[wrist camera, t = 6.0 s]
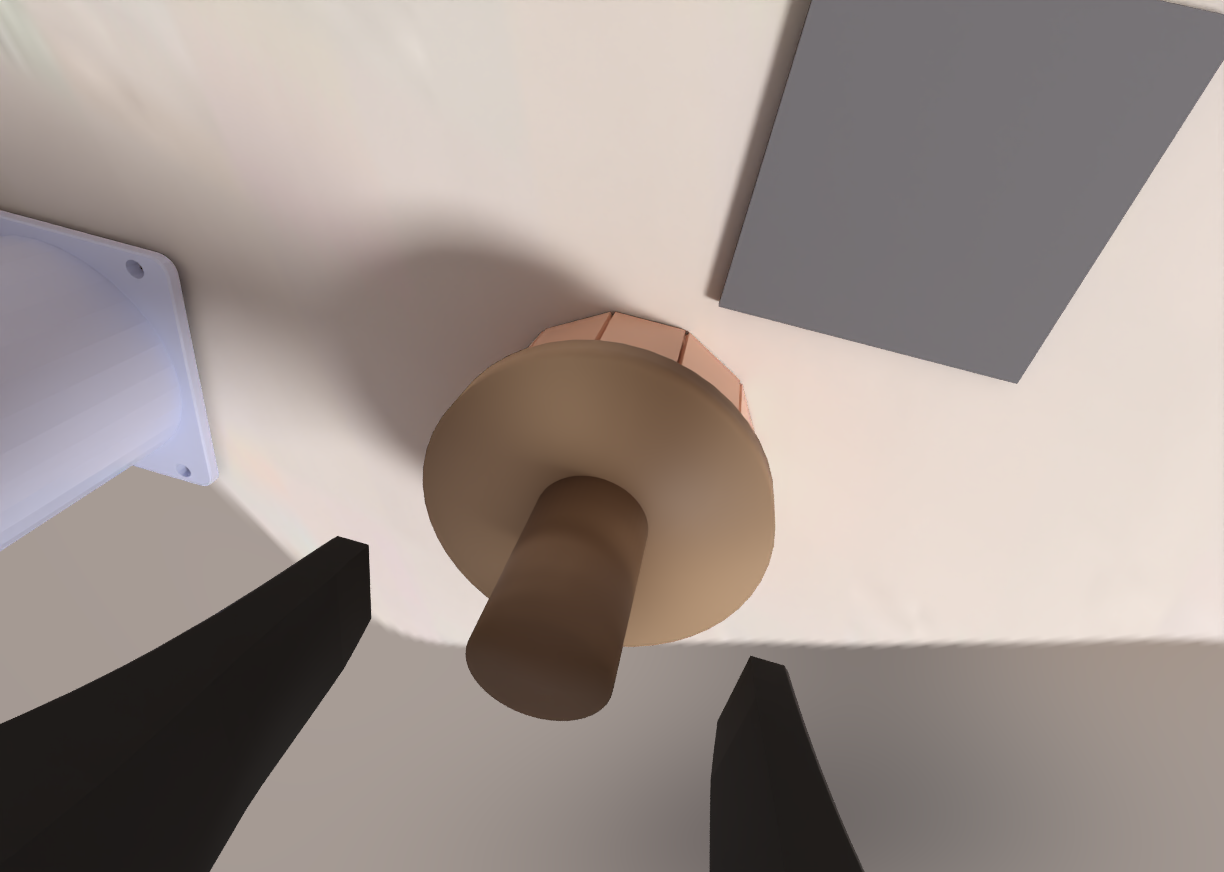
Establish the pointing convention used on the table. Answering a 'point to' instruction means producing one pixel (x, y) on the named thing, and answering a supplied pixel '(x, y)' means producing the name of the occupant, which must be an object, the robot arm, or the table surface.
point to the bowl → (654, 348)
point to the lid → (594, 515)
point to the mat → (961, 166)
